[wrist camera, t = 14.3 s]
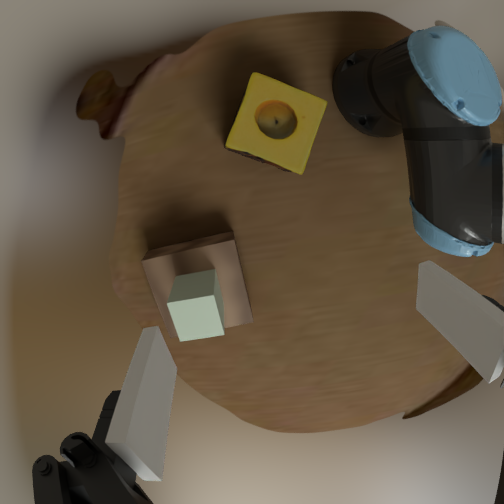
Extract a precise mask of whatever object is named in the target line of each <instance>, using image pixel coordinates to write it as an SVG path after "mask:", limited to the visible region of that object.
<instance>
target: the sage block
mask: <svg viewBox="0 0 504 504" xmlns="http://www.w3.org/2000/svg"><path fill="white" fill-rule="evenodd" d="M167 306H168V309H169V311H170V314H171V317H172V320H173V323H174V326H175V328H176V331H177V334H178V337H179V339H180V341H187V340H194V339H201V338H207V337H214V336H220V335H224V302H223V298H222V294H221V290H220V286H219V281H218V277H217V273H216V269H212V270H207V271H201V272H196V273H190V274H185V275H180V276H176V277H175V280H174V283H173V286H172V289H171V292H170V295H169V298H168V301H167Z"/></svg>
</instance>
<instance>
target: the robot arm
mask: <svg viewBox="0 0 504 504" xmlns="http://www.w3.org/2000/svg"><path fill="white" fill-rule="evenodd" d="M333 93H334V98H335V101H336V104H337V106H338V108H339V110H340V112H341V113H342V115H343V116H344V118H345V119H346V120H347V121H348V122H349V123H350V124H351V125H352V126H353V127H354V128H356V129H357V130H359V131H360V132H362V133H364V134H367V135H370V136H374V137H391V136H395V135H398V134H401V133H402V132H403V136H404V144H405V150H406V157H407V165H408V175H409V186H410V198H409V201H410V205H411V207H412V214H413V224H414V228H415V230H416V232H417V233H418V235H419V236H421V238H422V240H424V241H425V242H426V243H427V244H429V245H430V246H432V247H434V248H436V249H438V250H440V251H443V252H446V253H449V254H452V255H457V256H464V257H470V256H471V255H475V256H481V255H484V254H486V253H487V252H488V251H489V250H490V249H491V247H492V246H493V244H494V242H495V243H501V244H504V144H498V143H492V142H491V137H490V129H489V125H490V124H491V123H492V122H494V121H495V120H496V119H497V118H498V116H499V114H500V108H499V106H501V104H502V95H501V88H500V84H499V81H498V78H497V75H496V73H495V70H494V68H493V66H492V64H491V63H490V61H489V59H488V58H487V56H486V55H485V54H484V52H483V51H482V50H481V49H480V48H479V47H478V46H477V45H476V43H475V42H474V41H473V40H472V39H470V38H469V37H468V36H467V35H465V34H463V33H462V32H460V31H458V30H456V29H454V28H451V27H447V26H434V27H431V28H428V29H425V30H418V31H416V32H413V33H412V34H411V35H410V36H408V37H406V38H404V39H402V40H400V41H398V42H396V43H394V44H392V45H390V46H388V47H386V48H384V49H383V50H381V49H364V50H359V51H356V52H354V53H352V54H351V55H349V56H347V57H346V58H345V59H343V60H342V61H341V62H340V64H339V65H338V67H337V69H336V71H335V74H334V78H333ZM416 309H417V310H418V311H419V312H420V313H421V314H422V315H423V316H424V317H425V318H426V319H427V320H428V321H429V322H430V323H431V324H432V325H433V326H434V327H435V328H436V329H437V330H438V331H439V332H440V333H441V334H442V335H443V336H444V337H445V338H446V339H447V340H448V341H449V342H450V343H451V344H452V345H453V346H454V347H455V348H456V349H457V350H458V351H459V352H460V353H461V354H462V356H463V357H464V358H465V359H466V360H467V361H468V362H469V363H470V364H471V365H472V366H473V367H474V368H475V369H476V370H477V372H478V373H479V374H480V375H481V376H482V377H483V378H484V379H485V380H486V382H487V383H488V384H489V383H490V382H492V381H493V380H495V379H496V378H497V377H499V376H500V374H501V372H502V369H503V367H504V307H503V306H502V305H499V303H498V302H497V301H495V300H494V299H492V298H490V297H487V296H485V295H480V294H479V293H477V292H476V291H475V290H473V289H472V288H470V287H469V286H468V285H466V284H465V283H463V282H462V281H460V280H459V279H457V278H456V277H455V276H453V275H452V274H450V273H449V272H447V271H446V270H444V269H443V268H441V267H440V266H438V265H437V264H435V263H434V262H432V261H430V260H429V261H426V262H423V263H420V264H419V275H418V290H417V302H416ZM176 373H177V367H176V365H175V363H174V361H173V359H172V356H171V354H170V352H169V350H168V348H167V345H166V343H165V341H164V339H163V336H162V334H161V332H160V329H159V327H158V326H155V327H149V328H143V331H142V334H141V337H140V339H139V342H138V345H137V347H136V350H135V353H134V355H133V358H132V361H131V363H130V366H129V369H128V372H127V375H126V378H125V381H124V384H123V386H122V389H121V390H118V391H112V393H111V394H110V395H109V396H108V397H107V398H106V400H105V403H104V405H103V408H102V411H101V414H100V419H98V422H97V425H96V428H95V431H94V434H93V437H92V440H91V439H90V437H89V436H88V435H87V434H84V433H82V432H75V433H73V434H70V435H69V436H67V437H66V438H65V439H64V440H63V442H62V443H61V447H60V454H61V455H62V457H64V458H65V459H66V460H67V461H63V462H58V461H57V460H56V459H55V458H54V457H53V456H50V455H43V456H41V457H39V458H38V459H37V460H36V461H35V463H34V465H33V470H32V473H33V488H34V499H35V504H153V503H152V501H151V500H150V499H149V498H148V496H147V495H146V494H145V493H144V491H143V490H142V489H141V487H140V486H139V485H138V484H137V483H136V482H135V480H136V474H137V475H138V476H139V477H140V478H142V479H143V480H145V481H162V478H163V468H164V459H165V450H166V442H167V435H168V427H169V419H170V413H171V406H172V398H173V392H174V385H175V379H176ZM503 385H504V379H503V381H502V383H501V386H500V388H502V387H503ZM494 504H504V452H503V460H502V467H501V473H500V479H499V484H498V490H497V495H496V499H495V503H494Z"/></svg>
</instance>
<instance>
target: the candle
mask: <svg viewBox="0 0 504 504" xmlns="http://www.w3.org/2000/svg"><path fill="white" fill-rule="evenodd" d="M326 106H327V101H325V100H323V99H321V98H319V97H317V96H315V95H312V94H310V93H307V92H305V91H302V90H299V89H297V88H294V87H292V86H289V85H287V84H285V83H283V82H280V81H278V80H276V79H273V78H270V77H268V76H265V75H263V74H260V73H257V72H255V73H252V75H251V77H250V80H249V83H248V86H247V88H246V91H245V92H244V95H243V98H242V101H241V103H240V106H239V108H238V110H237V112H236V116H235V119H234V122H233V124H232V127H231V130H230V133H229V135H228V138H227V140H226V143H225V145H224V148H225V149H227V150H230V151H232V152H235V153H238V154H241V155H242V156H245V157H248V158H251V159H254V160H257V161H261V162H262V163H267V164H270V165H273V166H276V167H277V168H278V169H281V170H283V171H287V172H292V171H293V172H295V173H298V174H303V172H304V169H305V166H306V163H307V160H308V157H309V154H310V151H311V148H312V145H313V142H314V139H315V136H316V133H317V130H318V128H319V125H320V122H321V119H322V116H323V114H324V111H325V109H326Z"/></svg>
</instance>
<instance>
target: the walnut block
mask: <svg viewBox="0 0 504 504" xmlns="http://www.w3.org/2000/svg"><path fill="white" fill-rule="evenodd" d="M141 262H142V265H143V267H144V270H145V273H146V276H147V279H148V282H149V284H150V287H151V290H152V293H153V295H154V298H155V300H156V303H157V306H158V308H159V311H160V313H161V316H162V318H163V321H164V323H165V326H166V328H167V331H168V333H169V335H170V338H173V337H178V334H177V331H176V328H175V326H174V323H173V320H172V317H171V314H170V311H169V309H168V306H167V301H168V298H169V295H170V292H171V289H172V286H173V283H174V280H175V277H176V276H180V275H185V274H190V273H196V272H201V271H207V270H212V269H216V273H217V277H218V281H219V286H220V290H221V294H222V298H223V302H224V328H227V327H232V326H237V325H242V324H247V323H251V322H254V321H253V316H252V310H251V305H250V301H249V297H248V293H247V289H246V284H245V280H244V276H243V272H242V267H241V263H240V259H239V254H238V250H237V246H236V241H235V237H234V233H233V231H230V232H226V233H221V234H217V235H213V236H208V237H204V238H199V239H195V240H191V241H187V242H182V243H178V244H174V245H169V246H165V247H161V248H157V249H153V250H149V251H148V252H147V253H146V255H145V256H144V258H143V259H142V261H141Z"/></svg>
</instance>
